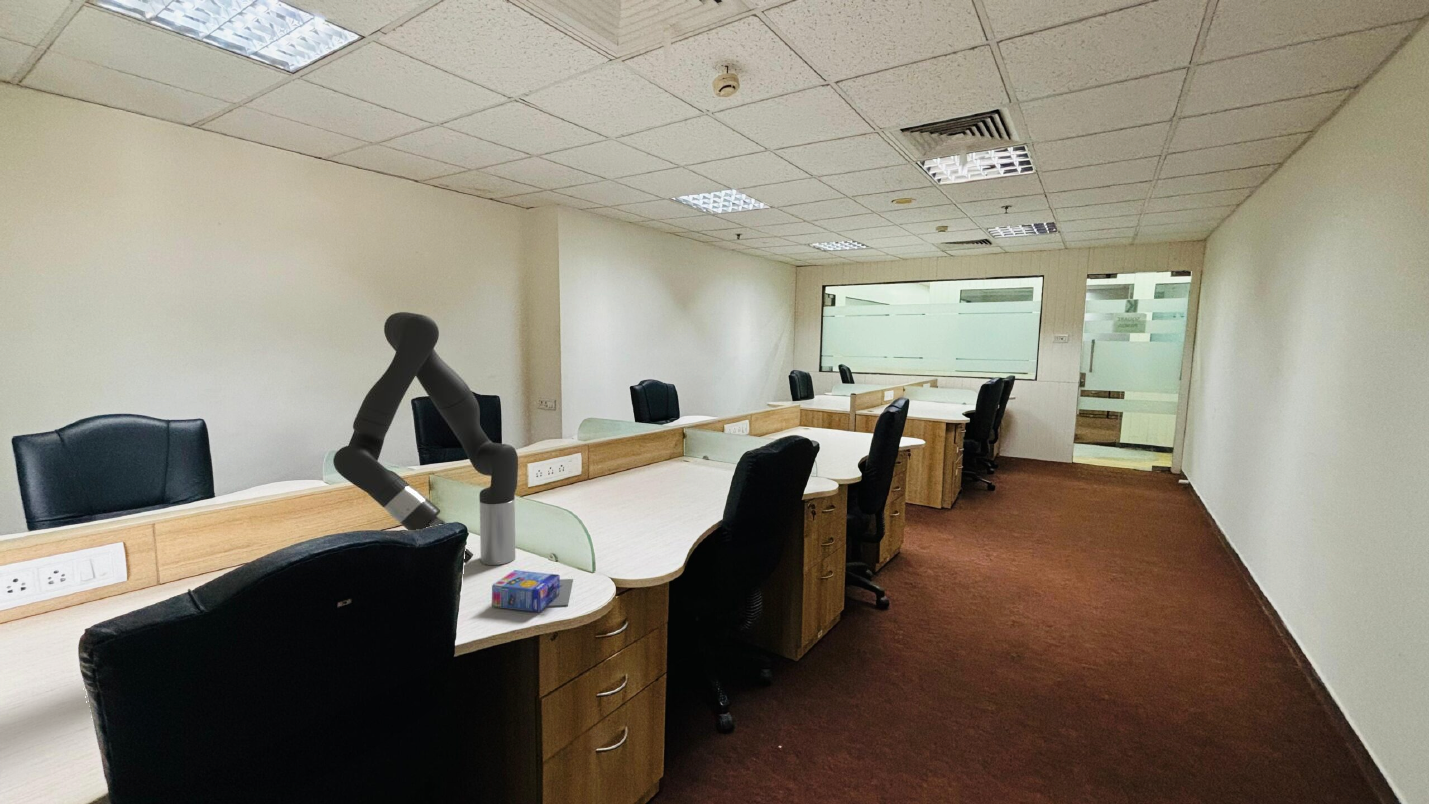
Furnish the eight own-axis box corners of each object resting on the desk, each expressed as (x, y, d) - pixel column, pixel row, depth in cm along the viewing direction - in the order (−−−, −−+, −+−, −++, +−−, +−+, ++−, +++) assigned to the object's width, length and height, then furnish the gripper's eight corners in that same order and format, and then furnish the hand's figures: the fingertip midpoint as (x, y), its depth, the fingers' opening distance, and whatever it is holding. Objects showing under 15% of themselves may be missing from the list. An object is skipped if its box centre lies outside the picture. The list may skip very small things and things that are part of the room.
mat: (522, 582, 143) (522, 581, 143) (573, 580, 145) (573, 578, 145) (511, 609, 129) (511, 607, 129) (567, 606, 131) (567, 604, 131)
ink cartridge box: (514, 567, 138) (569, 574, 135) (514, 589, 138) (568, 596, 136) (491, 583, 128) (549, 591, 125) (490, 607, 129) (549, 615, 126)
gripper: (415, 505, 123) (475, 557, 126) (433, 491, 136) (487, 538, 139) (389, 530, 122) (450, 581, 125) (410, 513, 135) (465, 560, 138)
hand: (469, 559), depth 132 cm, fingers closed
